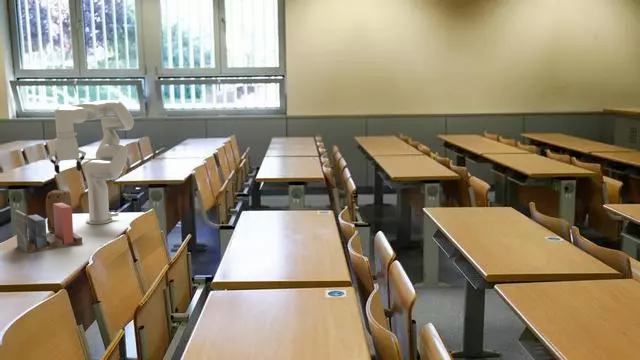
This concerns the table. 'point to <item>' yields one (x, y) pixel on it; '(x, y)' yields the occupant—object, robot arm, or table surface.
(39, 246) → the book stand
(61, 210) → the book
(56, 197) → the block
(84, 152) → the robot arm
